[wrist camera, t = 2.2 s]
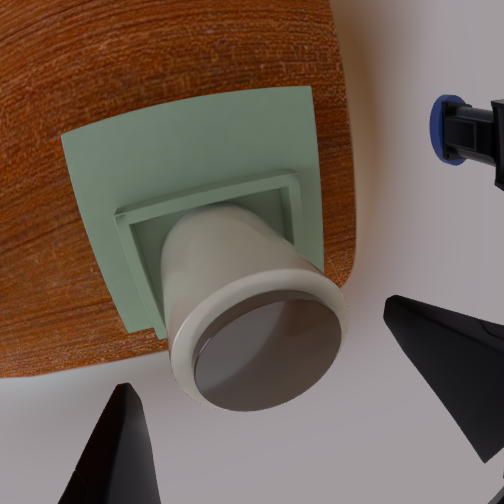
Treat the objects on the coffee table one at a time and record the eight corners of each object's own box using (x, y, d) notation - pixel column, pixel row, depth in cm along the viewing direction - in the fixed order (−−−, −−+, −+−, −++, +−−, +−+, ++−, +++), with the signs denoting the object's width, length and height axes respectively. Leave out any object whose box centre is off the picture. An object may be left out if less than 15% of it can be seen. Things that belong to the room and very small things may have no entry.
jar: (268, 190, 14) (364, 250, 8) (279, 291, 17) (349, 384, 10) (145, 219, 13) (140, 317, 6) (177, 320, 15) (203, 437, 9)
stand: (286, 90, 15) (324, 83, 11) (302, 256, 20) (334, 286, 16) (76, 133, 12) (51, 135, 9) (130, 304, 17) (127, 347, 14)
